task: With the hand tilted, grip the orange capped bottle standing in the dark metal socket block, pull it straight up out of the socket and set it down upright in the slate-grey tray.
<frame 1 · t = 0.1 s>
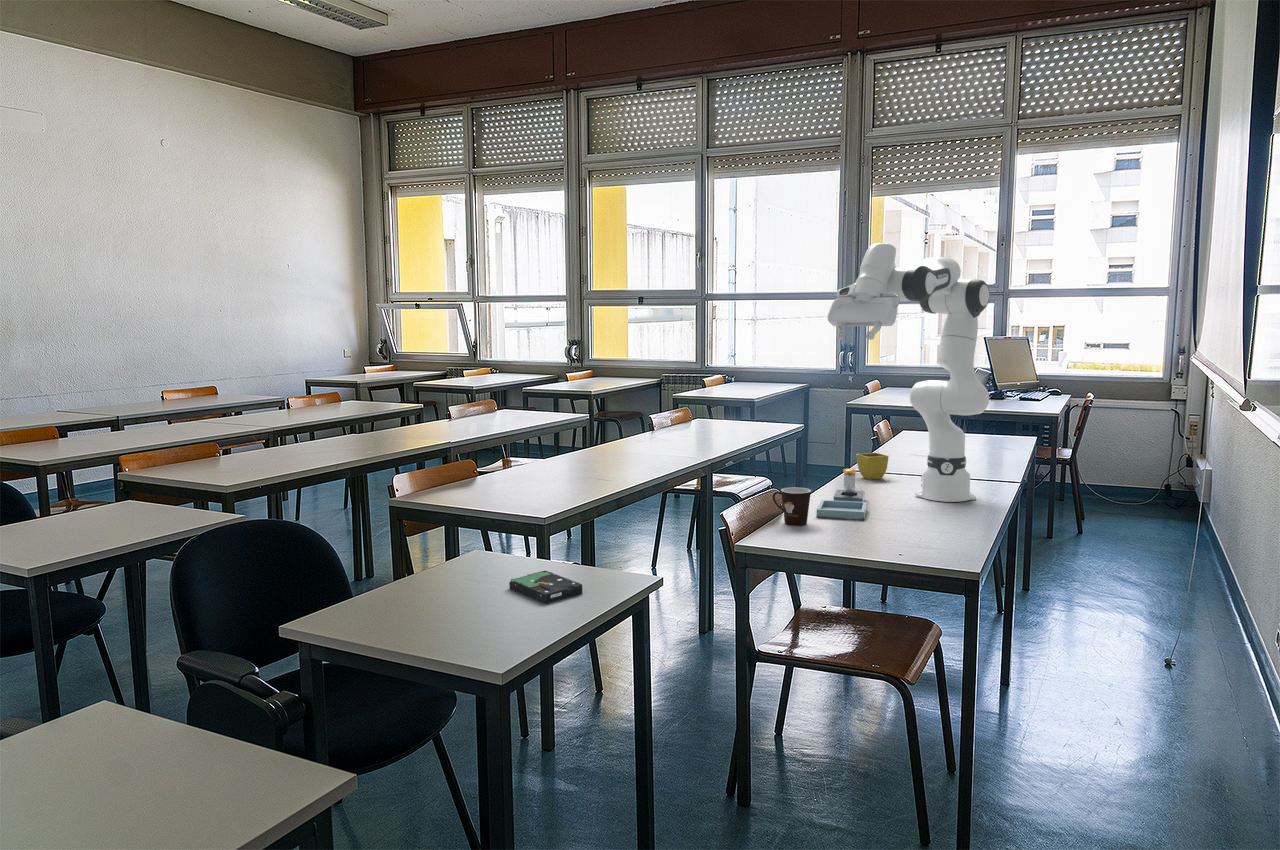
hand: (854, 338, 236), 54 cm above the table, tool tilted 30°, fingers open, 8 cm apart
tray: (842, 513, 261), on the table
orange capped bottle: (849, 486, 276), in the socket block
flower pot: (871, 478, 317), on the table
socket block: (849, 502, 276), on the table
disk drive: (545, 593, 192), on the table
coffee mug: (793, 523, 251), on the table
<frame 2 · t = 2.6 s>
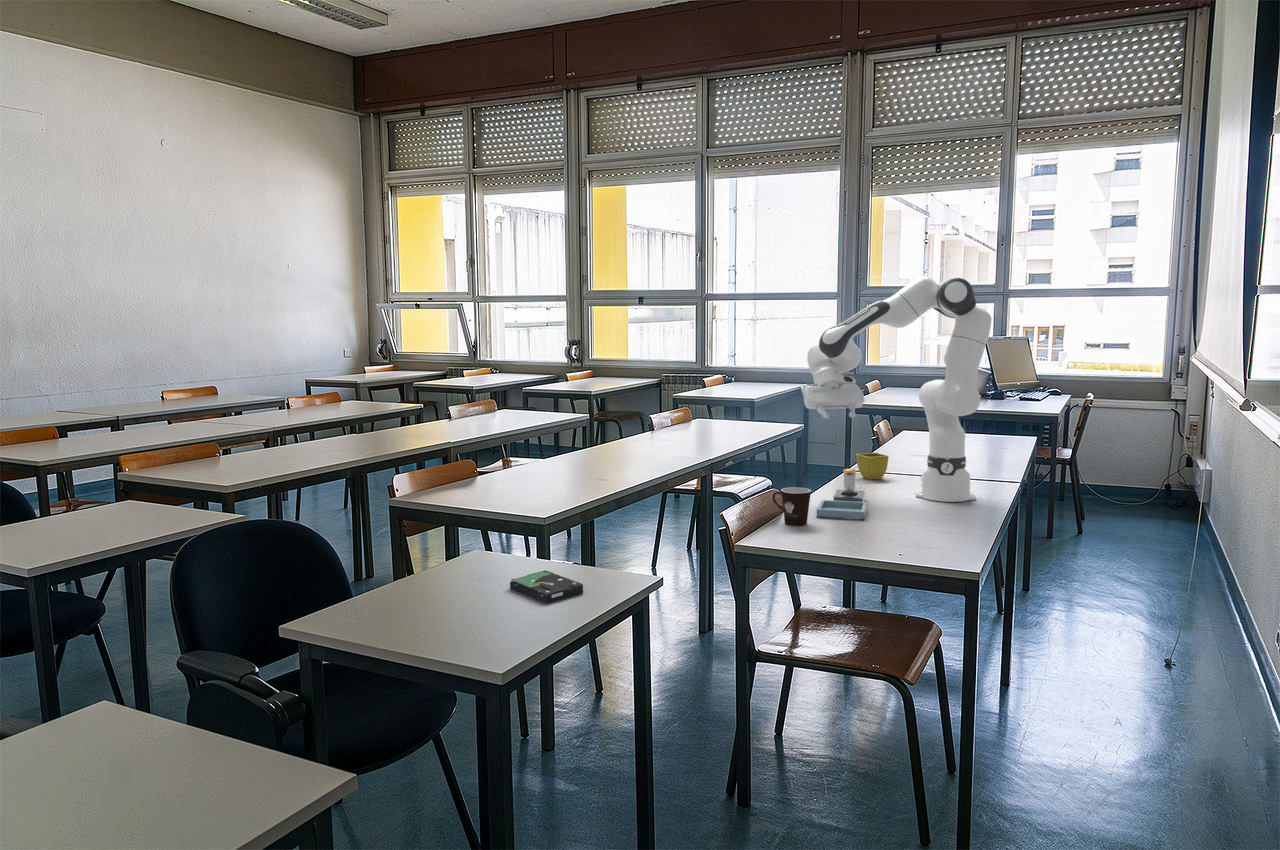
hand: (839, 416, 280), 28 cm above the table, tool tilted 45°, fingers open, 8 cm apart
nothing on the table moved.
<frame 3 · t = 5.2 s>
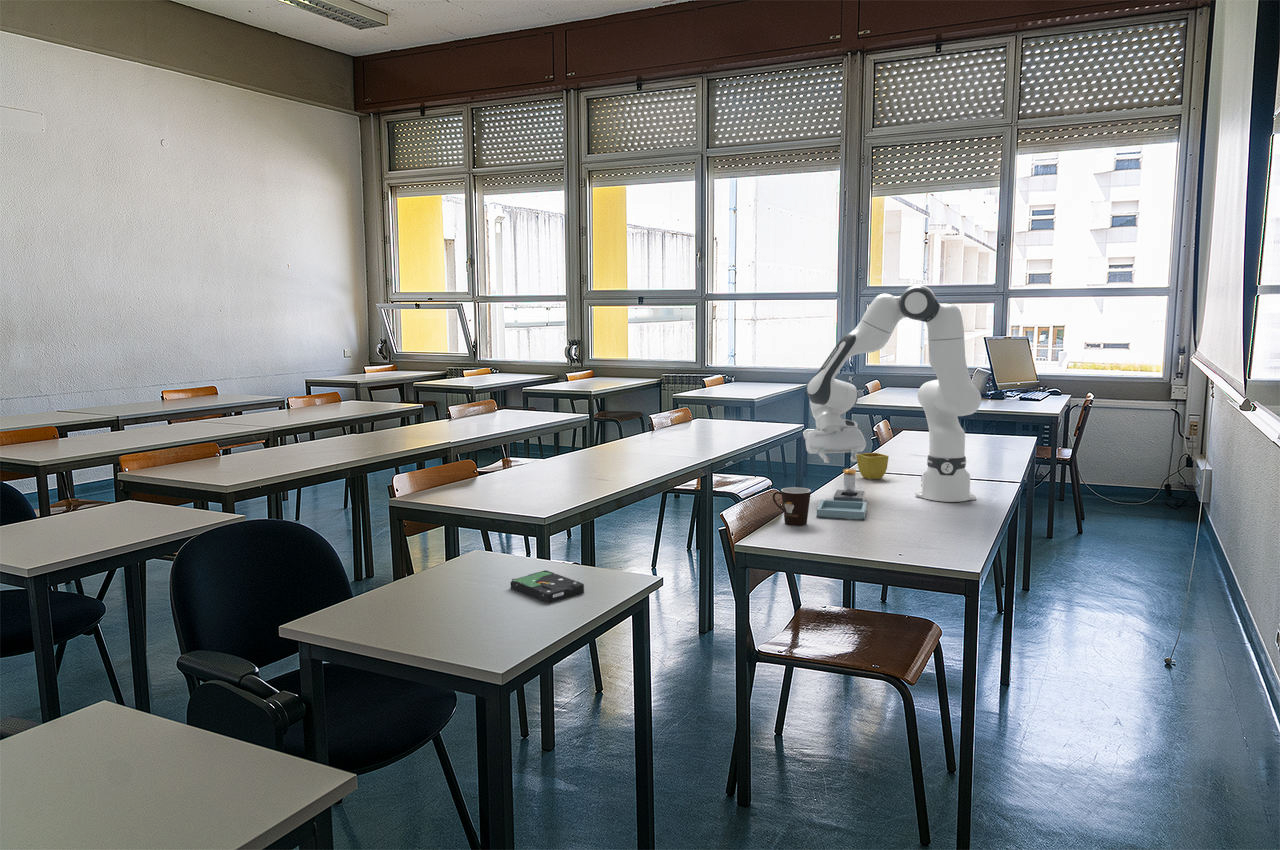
hand: (841, 461, 282), 13 cm above the table, tool tilted 45°, fingers open, 8 cm apart
nothing on the table moved.
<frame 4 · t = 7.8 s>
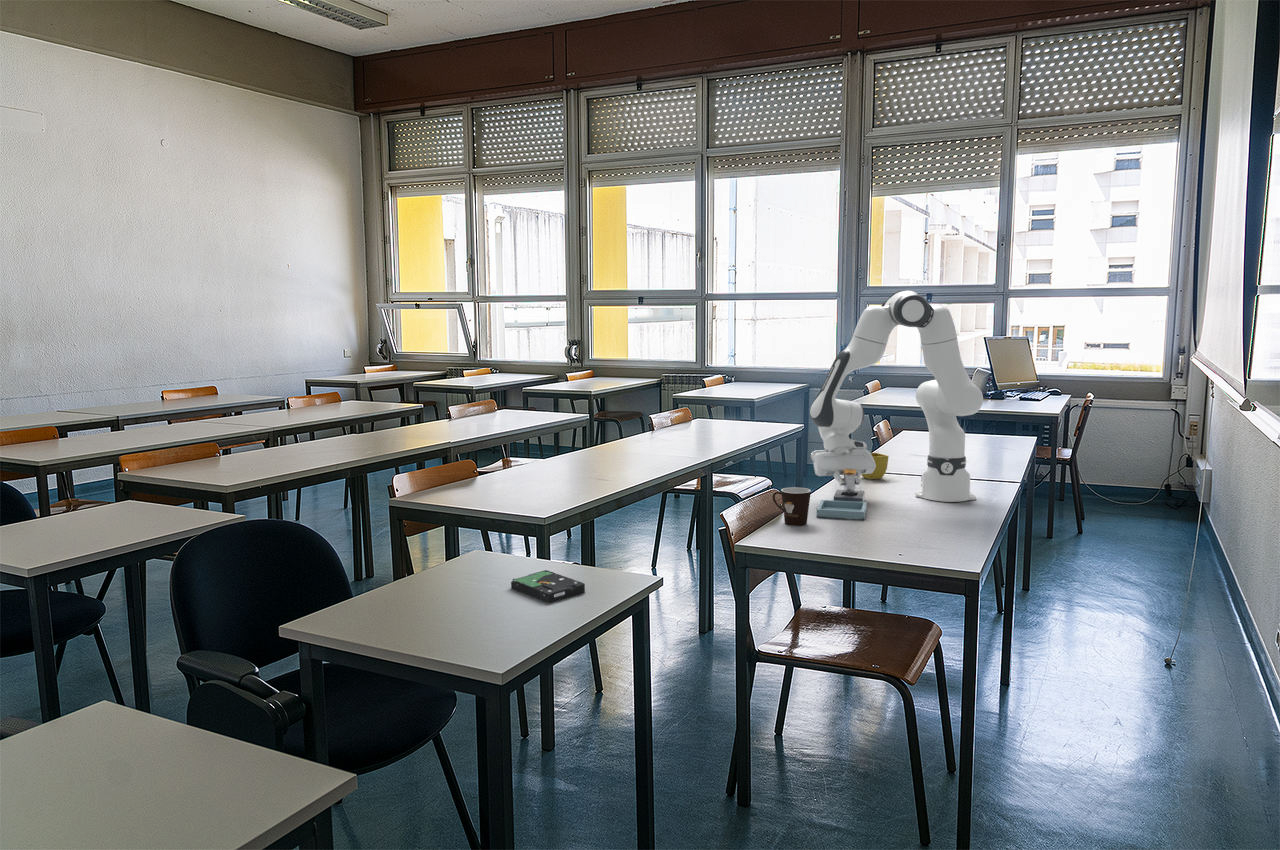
hand: (850, 484, 275), 6 cm above the table, tool tilted 45°, fingers closed on orange capped bottle, 4 cm apart
orange capped bottle: (849, 486, 276), in the socket block, touching gripper
everything else where it was.
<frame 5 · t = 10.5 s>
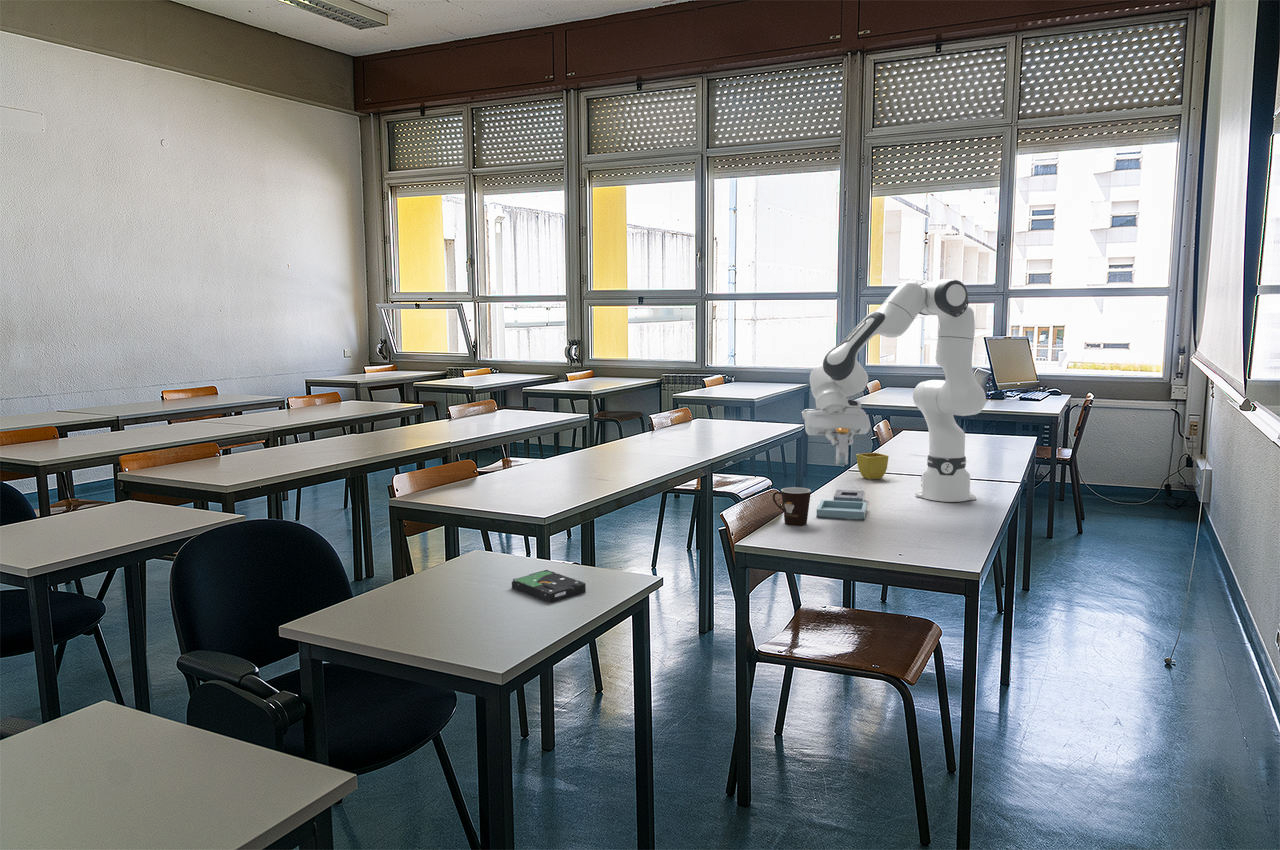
hand: (843, 443, 259), 22 cm above the table, tool tilted 45°, fingers closed on orange capped bottle, 4 cm apart
orange capped bottle: (842, 446, 260), point 21 cm above the table, touching gripper
everything else where it was.
when the fingers open (8 cm above the table, at t = 13.5 s): orange capped bottle drops 1 cm, resting on tray.
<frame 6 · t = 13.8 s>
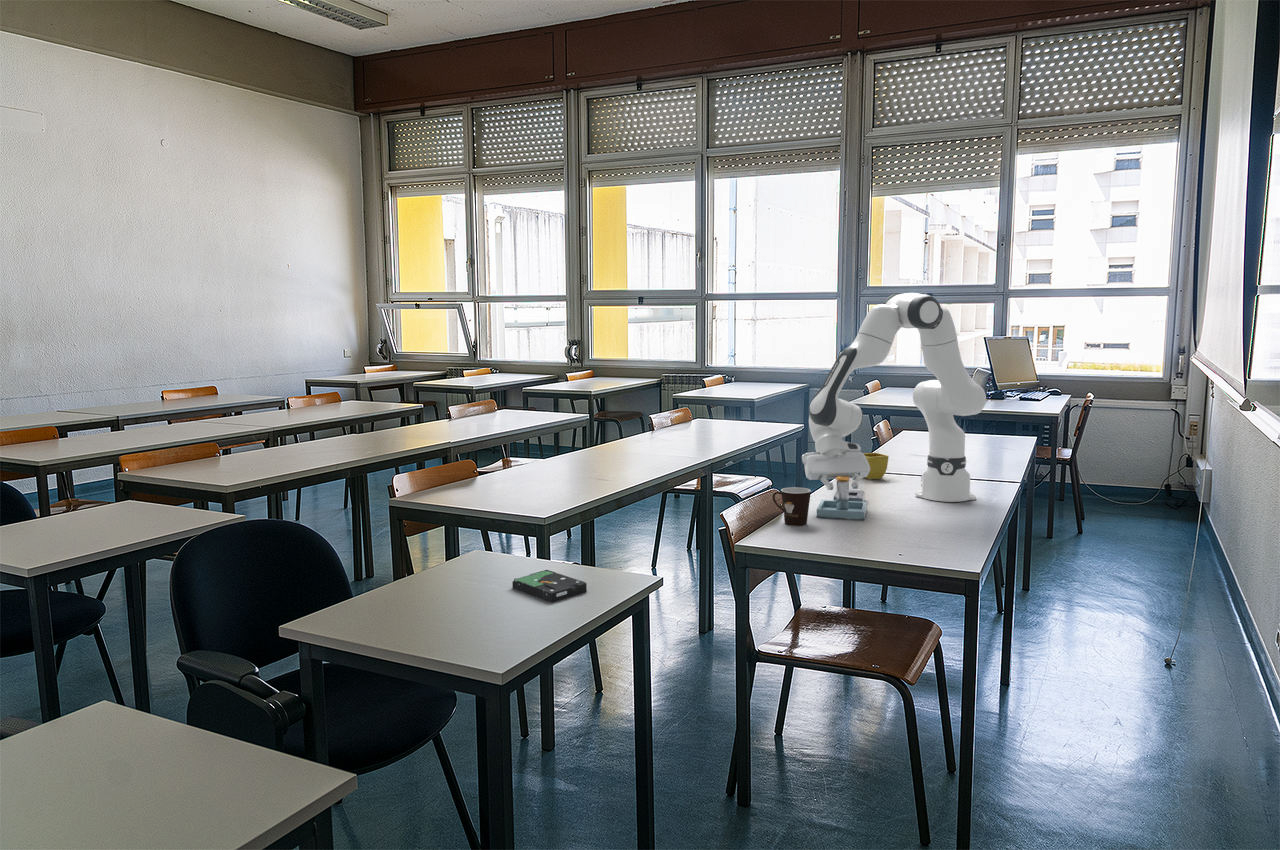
hand: (843, 488, 260), 8 cm above the table, tool tilted 45°, fingers open, 7 cm apart
orange capped bottle: (842, 494, 261), in the tray, point 6 cm above the table
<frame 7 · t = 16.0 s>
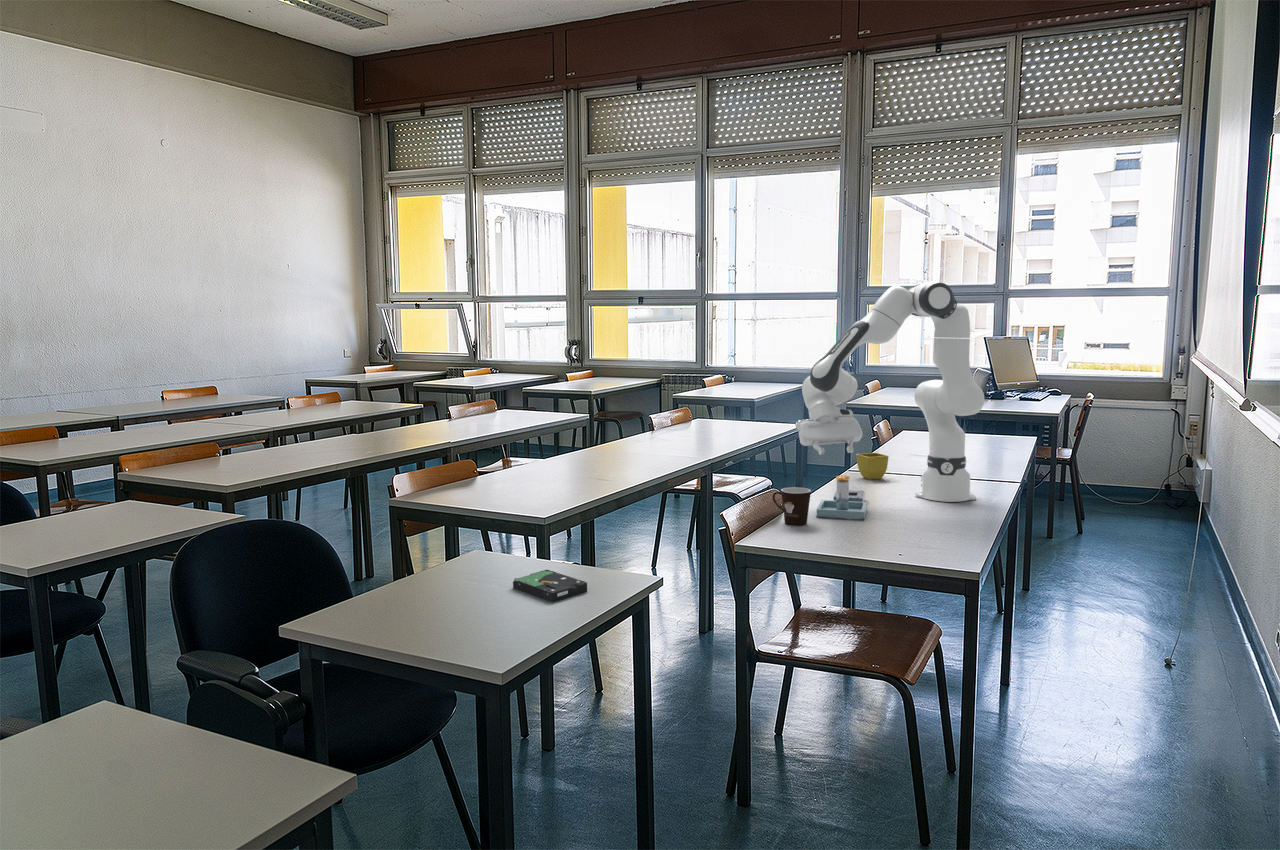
hand: (836, 452, 268), 18 cm above the table, tool tilted 45°, fingers open, 8 cm apart
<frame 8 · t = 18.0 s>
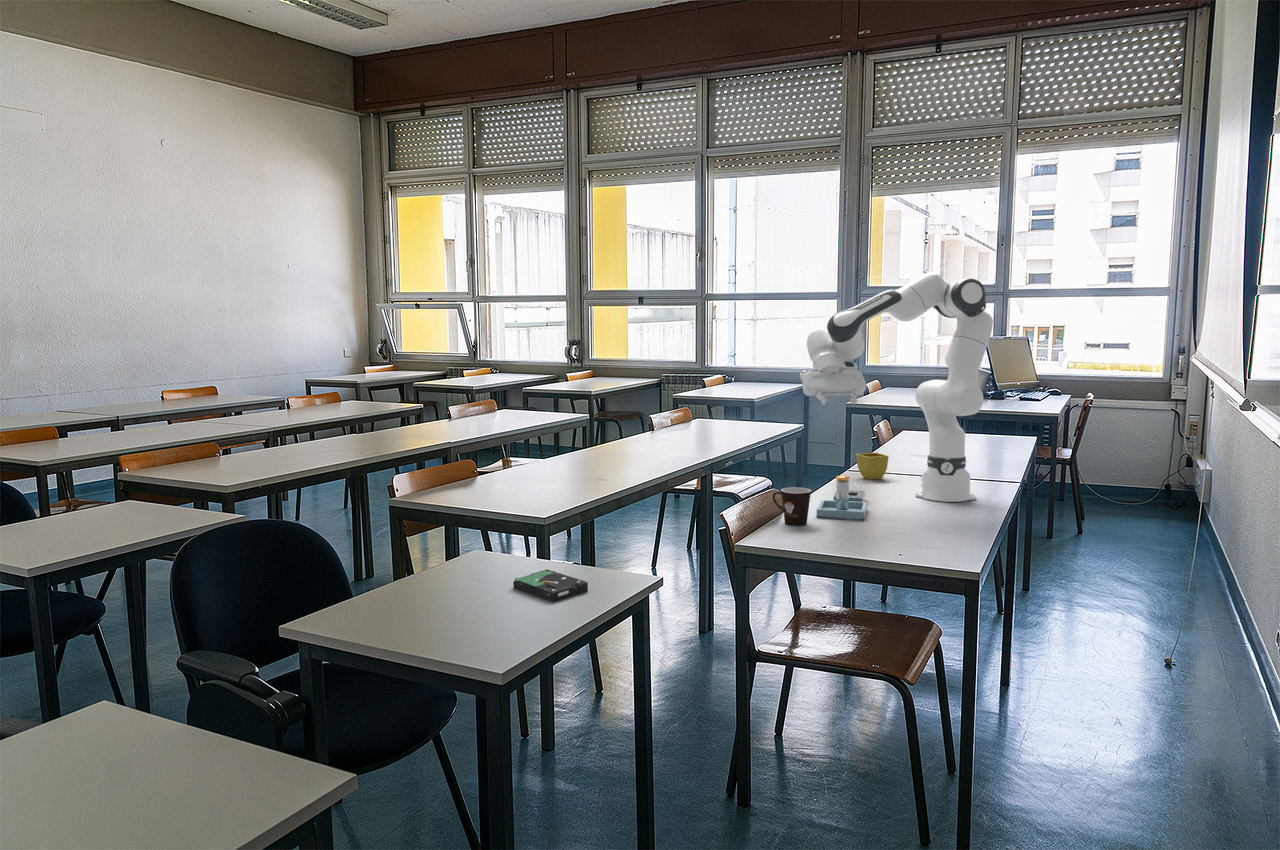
hand: (840, 403, 266), 33 cm above the table, tool tilted 45°, fingers open, 8 cm apart
at the end: orange capped bottle inside the target area on the tray (0.1 cm from its centre), point 6.1 cm above the tray's base; orange capped bottle tilted 0°; the gripper is holding nothing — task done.
